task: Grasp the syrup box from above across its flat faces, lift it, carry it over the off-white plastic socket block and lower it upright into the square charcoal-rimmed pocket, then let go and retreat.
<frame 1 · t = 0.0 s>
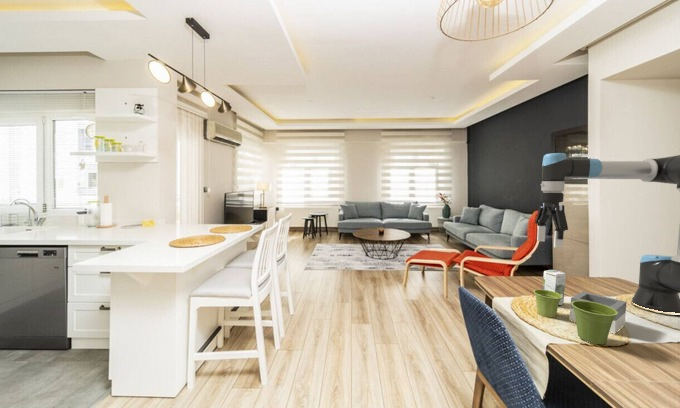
hand: (549, 244, 120), 28 cm above the table, tool pointing down, fingers open, 13 cm apart
plant pot 2: (591, 340, 99), on the table
plant pot: (546, 315, 118), on the table
socket block: (596, 322, 112), on the table
syrup box: (552, 304, 130), on the table
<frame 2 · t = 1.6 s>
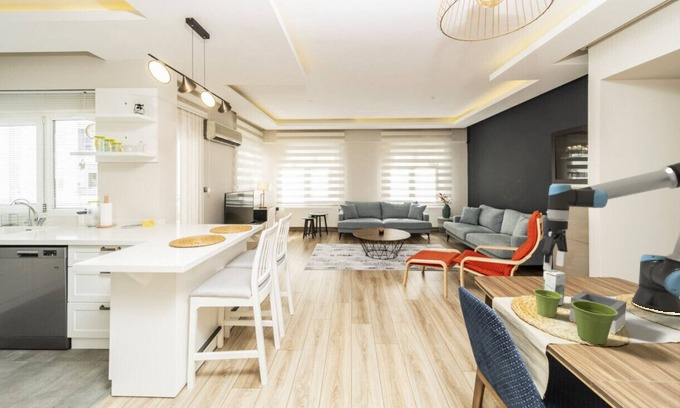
hand: (553, 268, 129), 16 cm above the table, tool pointing down, fingers open, 13 cm apart
nothing on the table moved.
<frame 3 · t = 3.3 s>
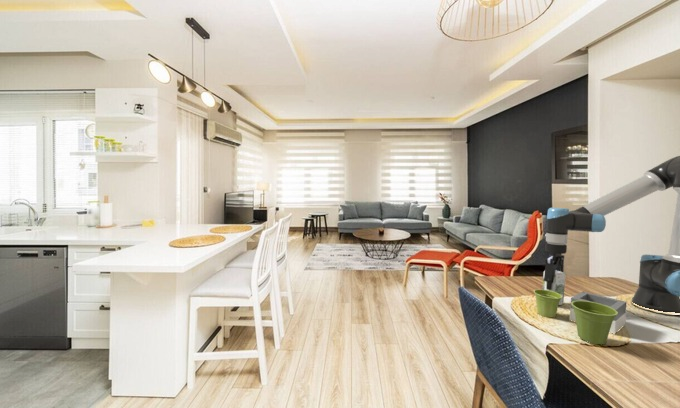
hand: (552, 294, 129), 4 cm above the table, tool pointing down, fingers closed on syrup box, 7 cm apart
syrup box: (552, 304, 130), on the table, touching gripper
everything else where it was.
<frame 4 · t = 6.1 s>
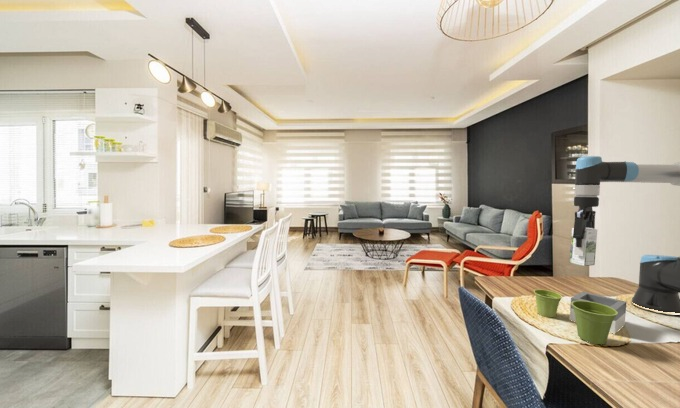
hand: (582, 254, 117), 25 cm above the table, tool pointing down, fingers closed on syrup box, 7 cm apart
syrup box: (582, 264, 117), point 21 cm above the table, touching gripper
everything else where it was.
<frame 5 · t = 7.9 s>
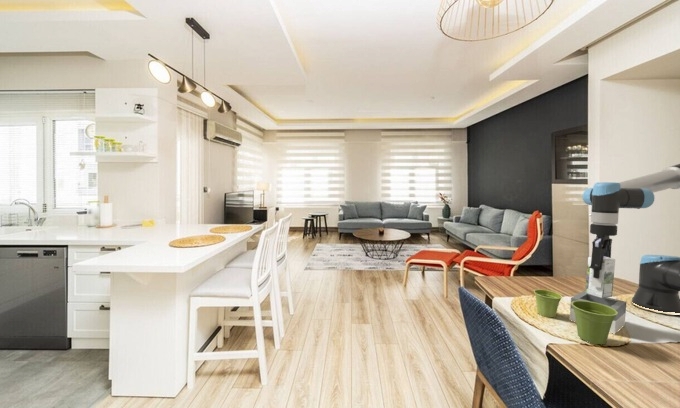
hand: (599, 284, 111), 15 cm above the table, tool pointing down, fingers closed on syrup box, 7 cm apart
syrup box: (598, 295, 111), point 11 cm above the table, touching gripper
everything else where it was.
when the fingers open (10 cm above the table, at t = 9.3 s): syrup box stays where it is, resting on socket block.
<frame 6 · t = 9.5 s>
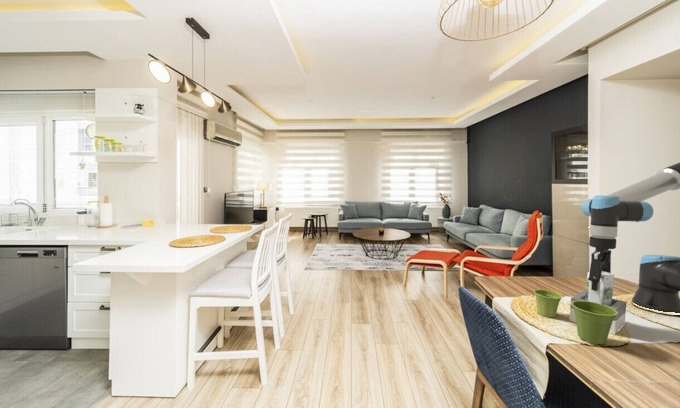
hand: (598, 296, 111), 10 cm above the table, tool pointing down, fingers open, 9 cm apart
syrup box: (597, 310, 111), point 5 cm above the table, touching socket block
everything else where it was.
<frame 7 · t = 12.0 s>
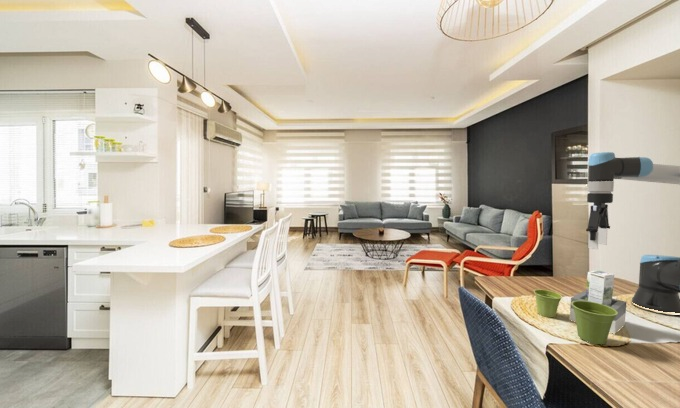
hand: (597, 246, 116), 28 cm above the table, tool pointing down, fingers open, 13 cm apart
nothing on the table moved.
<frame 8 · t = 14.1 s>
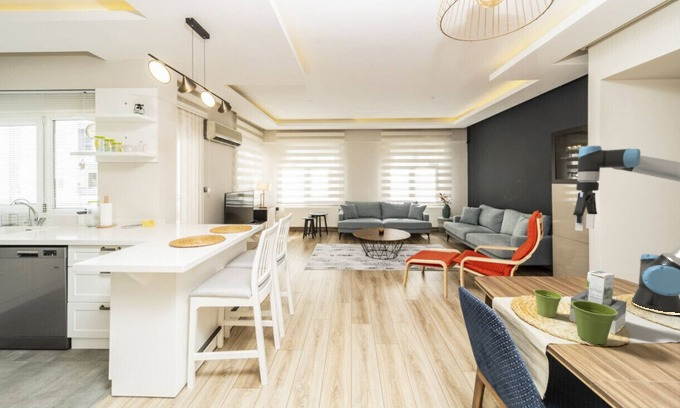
hand: (584, 229, 131), 33 cm above the table, tool pointing down, fingers open, 13 cm apart
nothing on the table moved.
at the end: syrup box 0.2 cm off-centre on the socket block, point 4.8 cm above the socket block's base; syrup box tilted 0°; the gripper is holding nothing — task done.
